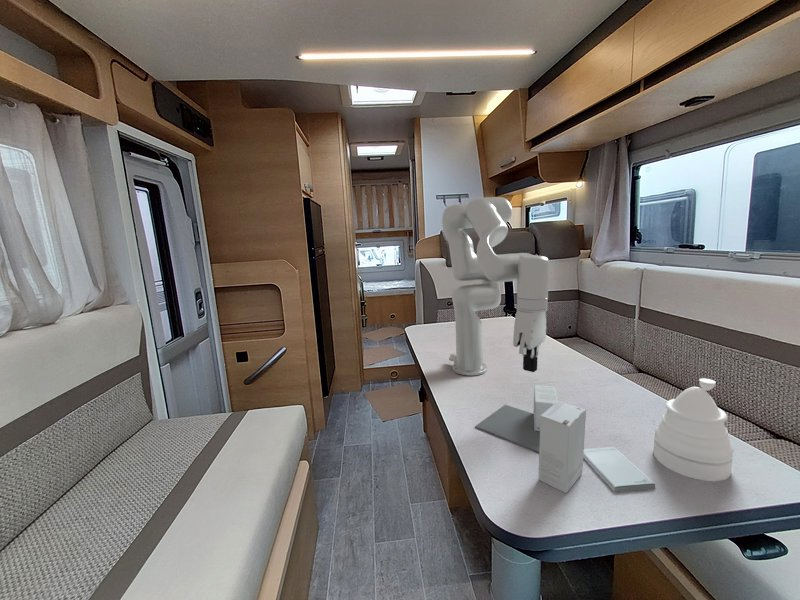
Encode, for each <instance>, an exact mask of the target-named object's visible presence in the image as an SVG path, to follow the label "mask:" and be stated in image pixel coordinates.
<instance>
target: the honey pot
mask: <svg viewBox="0 0 800 600" xmlns="http://www.w3.org/2000/svg"><path fill="white" fill-rule="evenodd" d="M698 381H699V382H698V383H699V386H700V387H699V386H691V387H688V388H686V389H684V390H683V391H682V392H681V393H679V394H678V396H676V398H672V399H669V400H667V401H666V402H665V409H666V411H665V413H663V415H662V416H661V420H660V421H659V424H658V425H657V426H656V427H655V429H654V440H653V441H654V442H653V451H652V452H653V456H654V458H655V459H656V460H657V461H658V462H659V463H660V464H662V465H663V466H664V467H666V468H667V469H668V470H671V471H673V472H675V473H677V474H680V475H682V476H685V477H688V478H692V479H695V480H699V481H706V482H720V481H725V480H727V479H728V478H730V476H731V475H732V474H731V473H732V468H733V467H732V465H733V457H734V454H733V453H734V448H733V444H732V442H731V439H730V435H729V430H728V428H727V427H726V425H725V423H726V422H727V420H728V414H727V413H726V412H725V411H724V410H723V409H721V408H720V407H718V406H717V404H716V401H715V400H714V399H713V398H712V396H711V395H710V393H708V392H707V391H711V390H713V389H714V388H715V386H716V383H717V382H716V381H715V380H713V379H710V378H705V377H702V378H699V379H698Z"/></svg>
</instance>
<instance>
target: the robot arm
mask: <svg viewBox="0 0 800 600" xmlns="http://www.w3.org/2000/svg"><path fill="white" fill-rule="evenodd" d="M512 213H513V207H512V205H511V203H510V201H509V200H508V199H507V198H505V197H502V196H501V197H500V196H499V197H497V196H495V197H493V196H492V197H491V196H490V197H488V196H487V197H477V198H474V199H472V200H470V201H469V202H467V203H455V204H451V205H448V206H447V207H446V208H445V209H444V210H443V212H442V217H441V219H442V220H441V222H442V223H441V224H442V230H443V233H444V236H445V238H446V241H447V243H448V246H449V247H448V248H449V254H450V261H451V262H450V263H451V269H452V274H453V278H454V279H455V280H456V281H458V282H474V281H481V283H476V284H475V283H474V284H465V285H461V286H458V287H456V288H455V289H454V290H453V292H452V294H451V300H452V305H453V310H454V318H455V323H454V324H455V353H456V354H454V353H451V354H450V355H449V358H448V360H449V361H450V362H453V365H452V371H453V372H454V373H456V374H458V375H461V376H468V377H469V376H471V377H472V376H473V377H474V376H478V375H479V376H480V375H483V374H485V373H486V372H487V371H488V366H487V365H486V364H485V363H483V361H484V360H483V359H484V357H483V323H482V322H483V321H482V319H481V318H480V317H479V315H478V314H477V313H476V312H478V311H486V310H487V311H488V310H493V309H495V308H498V307H499V306H500V304H501V301H502V293H501V283H506V282H517V283H516V287H517V288H516V313H515V317H514V326H513V338H512V345H513V347H516V348H517V347H519V348H518V349H519V350H518V354H521V355H522V361H523V363H522V369H523V370H524V371H527V372H531V373H535V372H536V371H537V370H538V356H539V351H540V350H539V349H540V346H542V344H543V343H544V342H545V340H546V338H547V337H546V336H547V311H548V302H549V301H548V300H549V283H550V281H549V279H550V278H549V277H550V260H549V258H548V257H546V256H543V255H534V254H531V253H528V252H518V253H517V252H516V253H503V254H496V253H495V252H494V250H493V248H494V247H496V246H497V245H499V244H501V243H502V242H503V241H504V240H505V239H506V237H507V236H508V233H509V228H508V225H507V224H506V223H508V222H509V221H510V219H511V217H512V215H513V214H512ZM464 229H474V231H475V233H476V234H477V236H478V238H479V240H478V243H477V246H476V253H475V249H474V248H475V247H474V242H473V240H472V238H471V237H470V235H469V234H468V233H467V232H466V231H464Z"/></svg>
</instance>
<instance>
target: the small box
mask: <svg viewBox="0 0 800 600" xmlns="http://www.w3.org/2000/svg"><path fill="white" fill-rule="evenodd" d="M557 401H559V398H558V392H557V389H556V386H550V385H549V386H548V385H536V384H535V385H534V386H533V414H534V430H535V431H540V419H541V417H540V416H541V415H542V414H543V413H544V412H545V411H547V410H548V409H549V408H550V407H551V406H552V405H554V404H555V403H556V402H557Z"/></svg>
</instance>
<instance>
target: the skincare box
mask: <svg viewBox="0 0 800 600" xmlns="http://www.w3.org/2000/svg"><path fill="white" fill-rule="evenodd" d="M586 416H587V410H586V409H585V408H583V407H579V406H577V405H572V404H570V403H568V402H567V403H566V402H564V401H561V400H558V401H557V402H556V403H555V404H554V405H552V406H551V407H550V408H549V409H548V410H547V411H545V412H544V413H543V414H542V415H541V416H540V417H541V419H540V447H539V453H538V454H539V455H538V480H539V481H540V482H542V483H544V484H546V485H549V486H551V487H553V488H555V489H556V490H558V491H560V492H562V493H564V494H568V492H569V491H570V490H571V488H572V487H573V485H574V484H575V483H576V482H577V481H578V479H579V478H580V476H582V474H583V471H584V469H583V468H584V458H583V454H584V449H585V435H586V434H585V433H586V419H587V417H586Z"/></svg>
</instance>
